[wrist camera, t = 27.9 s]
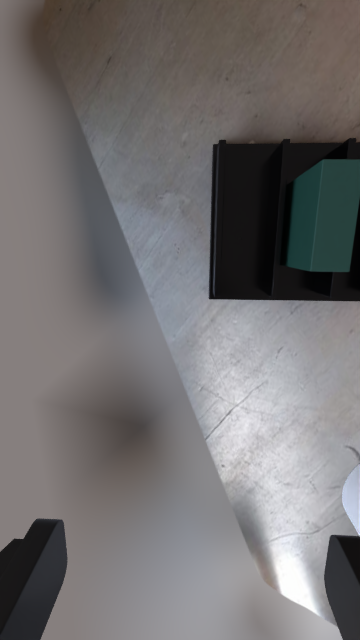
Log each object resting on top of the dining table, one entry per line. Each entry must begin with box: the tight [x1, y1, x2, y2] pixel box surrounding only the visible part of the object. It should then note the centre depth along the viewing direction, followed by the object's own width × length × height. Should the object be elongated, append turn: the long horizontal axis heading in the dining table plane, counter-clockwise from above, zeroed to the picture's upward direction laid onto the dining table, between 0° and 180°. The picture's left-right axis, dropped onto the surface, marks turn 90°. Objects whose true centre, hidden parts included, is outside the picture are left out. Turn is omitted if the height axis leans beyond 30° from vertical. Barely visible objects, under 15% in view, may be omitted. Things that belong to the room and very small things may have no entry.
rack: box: [209, 138, 360, 301], centre depth 31 cm, size 16×18×6 cm
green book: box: [280, 159, 360, 272], centre depth 28 cm, size 3×8×10 cm, turn 179°
